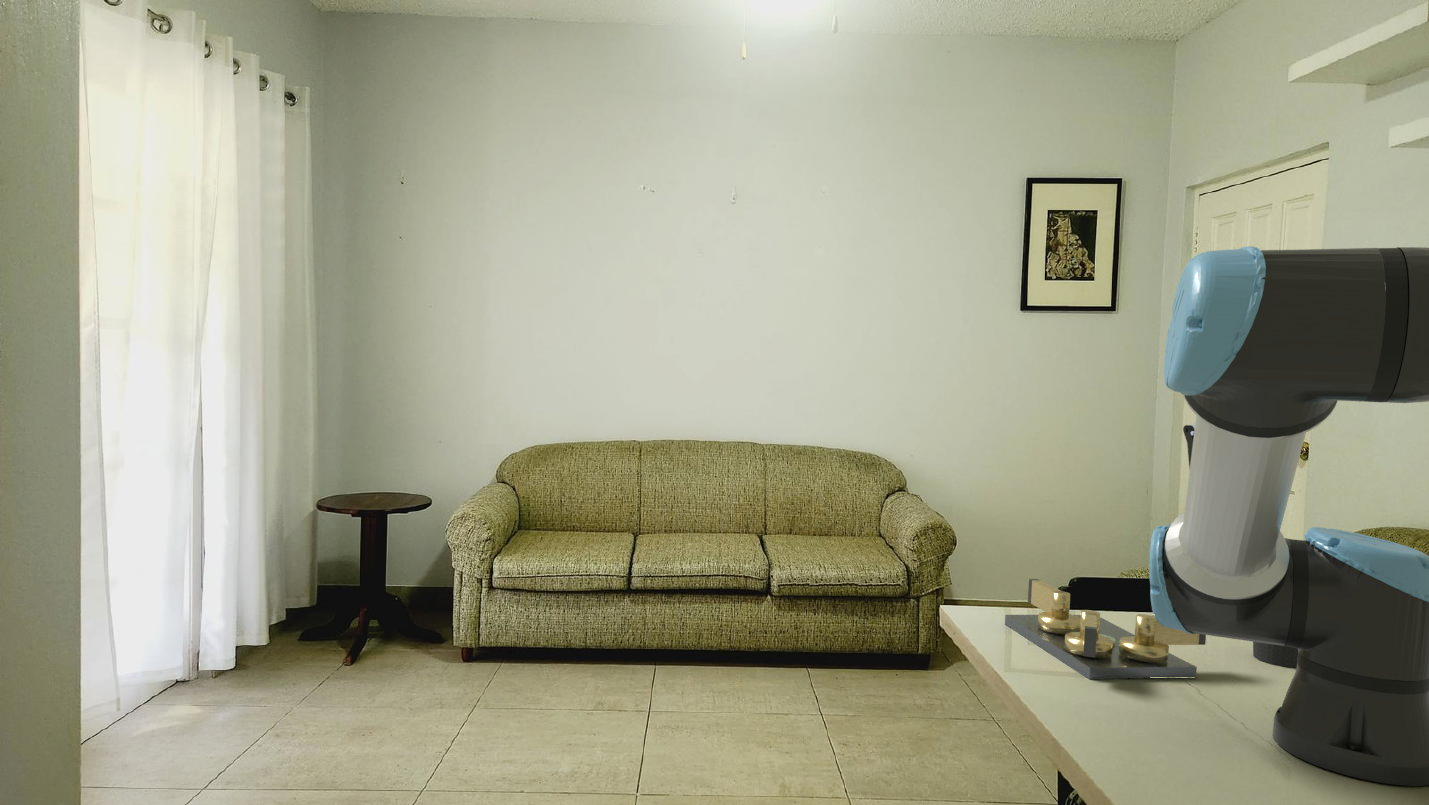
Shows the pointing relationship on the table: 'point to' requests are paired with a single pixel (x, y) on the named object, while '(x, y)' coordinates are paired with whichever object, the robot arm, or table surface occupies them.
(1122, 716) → the table surface
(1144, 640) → the brass knob
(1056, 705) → the table surface
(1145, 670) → the levelling plate
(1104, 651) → the brass knob
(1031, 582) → the brass knob
